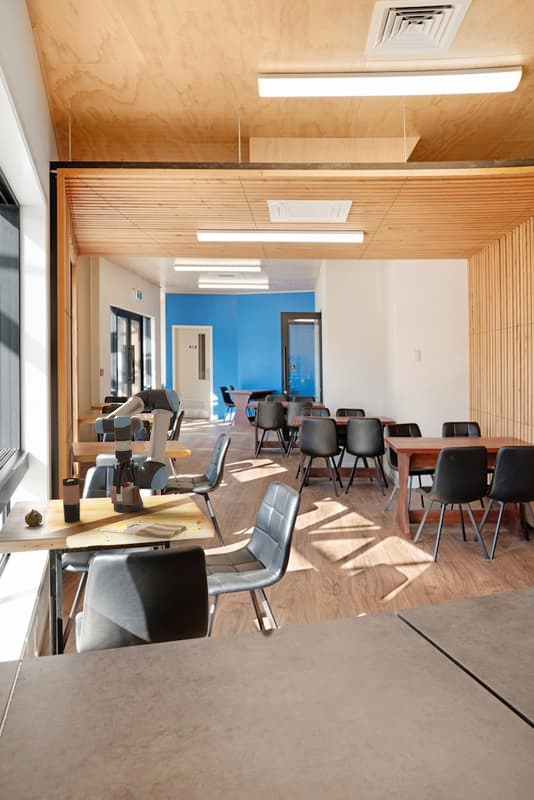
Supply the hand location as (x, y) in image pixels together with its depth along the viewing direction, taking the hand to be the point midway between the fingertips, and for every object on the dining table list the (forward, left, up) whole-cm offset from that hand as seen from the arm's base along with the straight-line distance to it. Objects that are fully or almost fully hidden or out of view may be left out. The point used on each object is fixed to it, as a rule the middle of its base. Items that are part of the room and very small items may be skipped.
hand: (125, 498), depth 273 cm
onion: (+12, -42, -13) cm, 46 cm away
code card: (+3, +2, -13) cm, 13 cm away
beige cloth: (+4, +21, -13) cm, 25 cm away
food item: (0, 0, -3) cm, 3 cm away
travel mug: (0, -30, -13) cm, 33 cm away
